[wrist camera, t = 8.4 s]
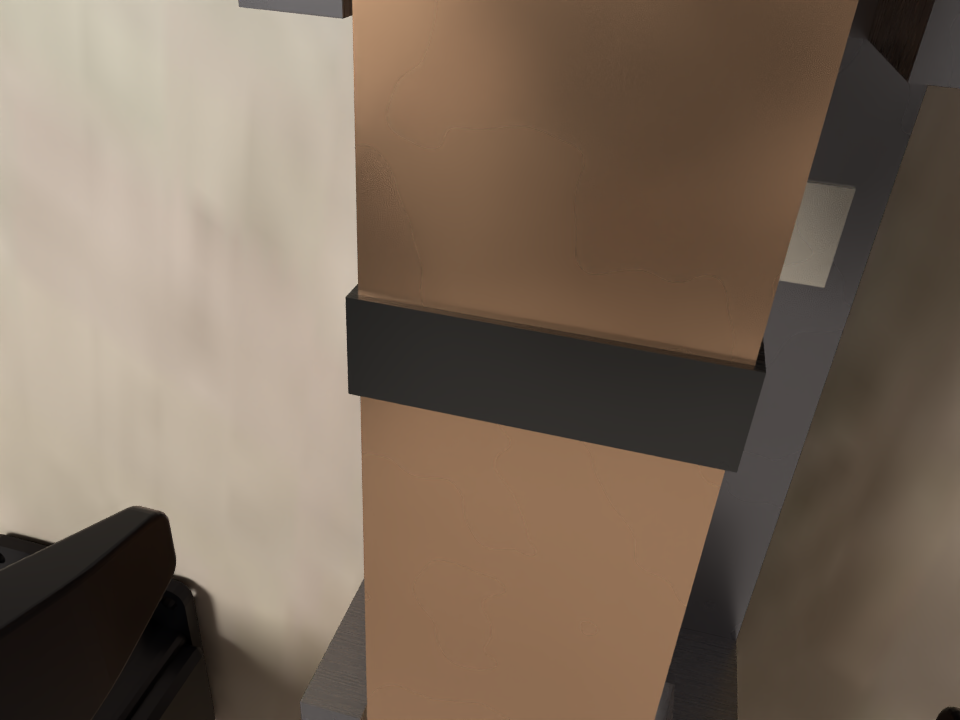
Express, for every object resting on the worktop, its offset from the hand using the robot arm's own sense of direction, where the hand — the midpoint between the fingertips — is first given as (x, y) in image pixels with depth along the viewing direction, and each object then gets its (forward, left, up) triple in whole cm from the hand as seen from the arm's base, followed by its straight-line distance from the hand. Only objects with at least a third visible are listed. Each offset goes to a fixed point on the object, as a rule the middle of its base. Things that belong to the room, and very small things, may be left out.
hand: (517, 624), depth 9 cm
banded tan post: (0, 0, -5) cm, 5 cm away
